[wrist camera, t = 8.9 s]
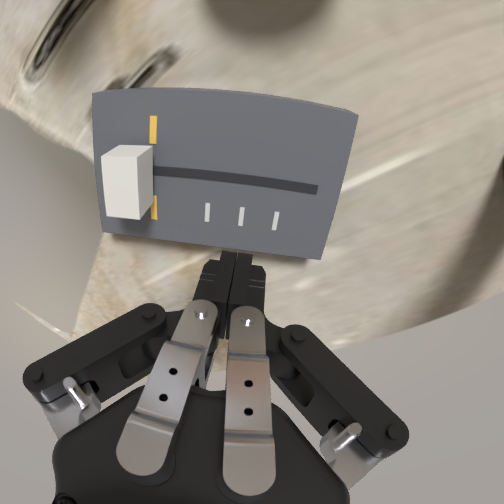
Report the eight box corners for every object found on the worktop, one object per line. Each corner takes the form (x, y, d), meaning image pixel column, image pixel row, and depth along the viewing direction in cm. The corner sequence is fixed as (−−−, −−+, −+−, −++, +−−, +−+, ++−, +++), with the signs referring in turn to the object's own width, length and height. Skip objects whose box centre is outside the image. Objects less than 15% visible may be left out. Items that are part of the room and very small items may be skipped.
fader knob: (155, 143, 22) (136, 157, 18) (156, 198, 25) (139, 219, 21) (123, 142, 22) (101, 156, 18) (126, 195, 24) (106, 216, 21)
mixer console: (348, 110, 22) (358, 115, 20) (316, 243, 30) (320, 260, 28) (108, 89, 22) (91, 93, 19) (114, 218, 30) (102, 232, 27)
